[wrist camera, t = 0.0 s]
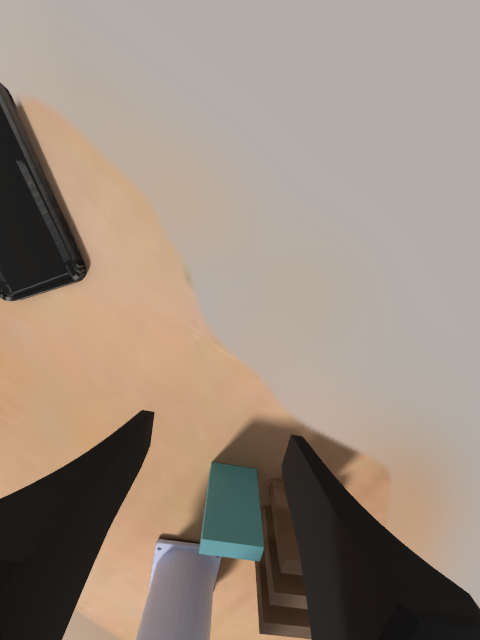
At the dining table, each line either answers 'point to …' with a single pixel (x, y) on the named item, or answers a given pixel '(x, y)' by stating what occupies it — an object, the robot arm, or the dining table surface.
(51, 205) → the phone
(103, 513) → the robot arm
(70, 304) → the dining table surface
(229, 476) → the domino teal placed
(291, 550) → the domino
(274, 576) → the domino
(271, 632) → the domino
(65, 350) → the dining table surface
